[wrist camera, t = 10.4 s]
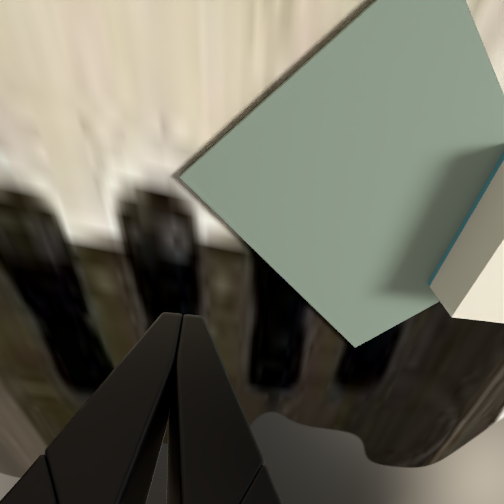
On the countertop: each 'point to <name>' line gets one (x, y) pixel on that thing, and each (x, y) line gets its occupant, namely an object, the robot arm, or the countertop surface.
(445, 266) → the white box
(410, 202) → the mat
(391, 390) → the countertop surface
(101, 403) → the robot arm
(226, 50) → the countertop surface
